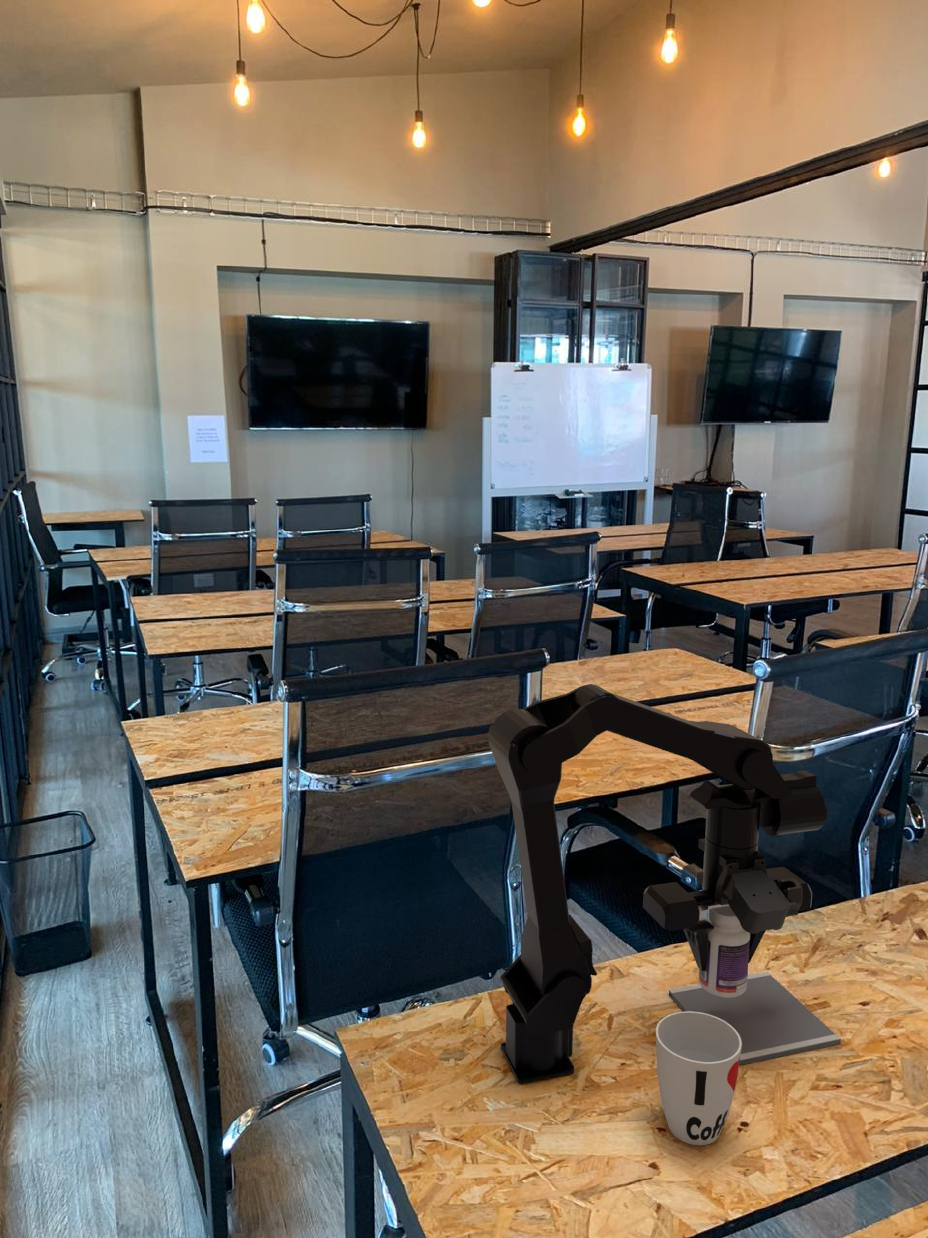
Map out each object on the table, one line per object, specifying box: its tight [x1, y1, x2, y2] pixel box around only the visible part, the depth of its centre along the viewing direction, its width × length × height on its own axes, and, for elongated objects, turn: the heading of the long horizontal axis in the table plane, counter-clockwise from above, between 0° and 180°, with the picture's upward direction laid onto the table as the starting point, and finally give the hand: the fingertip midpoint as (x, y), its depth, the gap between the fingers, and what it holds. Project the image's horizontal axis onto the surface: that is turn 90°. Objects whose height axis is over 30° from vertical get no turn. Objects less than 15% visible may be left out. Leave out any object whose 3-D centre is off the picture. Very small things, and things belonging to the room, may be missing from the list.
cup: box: [655, 1011, 742, 1146], centre depth 91 cm, size 8×8×10 cm
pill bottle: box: [698, 906, 750, 998], centre depth 106 cm, size 5×5×10 cm
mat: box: [668, 971, 842, 1067], centre depth 109 cm, size 14×14×1 cm
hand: (723, 965), depth 107 cm, fingers closed on pill bottle, 5 cm apart
